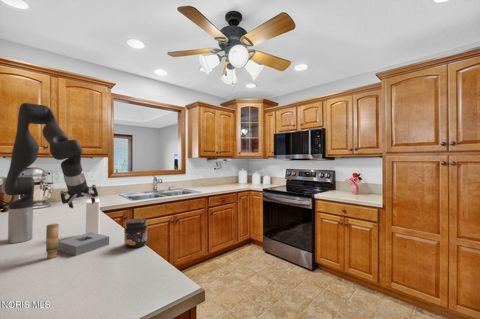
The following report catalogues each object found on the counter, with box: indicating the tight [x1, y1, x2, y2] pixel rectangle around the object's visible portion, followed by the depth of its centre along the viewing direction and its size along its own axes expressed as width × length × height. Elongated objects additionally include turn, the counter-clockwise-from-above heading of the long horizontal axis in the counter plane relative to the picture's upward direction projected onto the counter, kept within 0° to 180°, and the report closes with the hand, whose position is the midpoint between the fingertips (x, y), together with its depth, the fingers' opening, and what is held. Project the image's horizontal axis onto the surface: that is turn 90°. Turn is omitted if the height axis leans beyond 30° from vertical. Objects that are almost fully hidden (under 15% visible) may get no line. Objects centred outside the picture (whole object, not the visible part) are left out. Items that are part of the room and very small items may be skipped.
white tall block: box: [85, 195, 101, 234], centre depth 126 cm, size 6×6×22 cm
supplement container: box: [123, 218, 148, 249], centre depth 111 cm, size 10×10×12 cm
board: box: [57, 232, 110, 256], centre depth 108 cm, size 15×15×4 cm
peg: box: [45, 223, 60, 260], centre depth 96 cm, size 4×4×14 cm
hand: (82, 204), depth 111 cm, fingers open, 8 cm apart
